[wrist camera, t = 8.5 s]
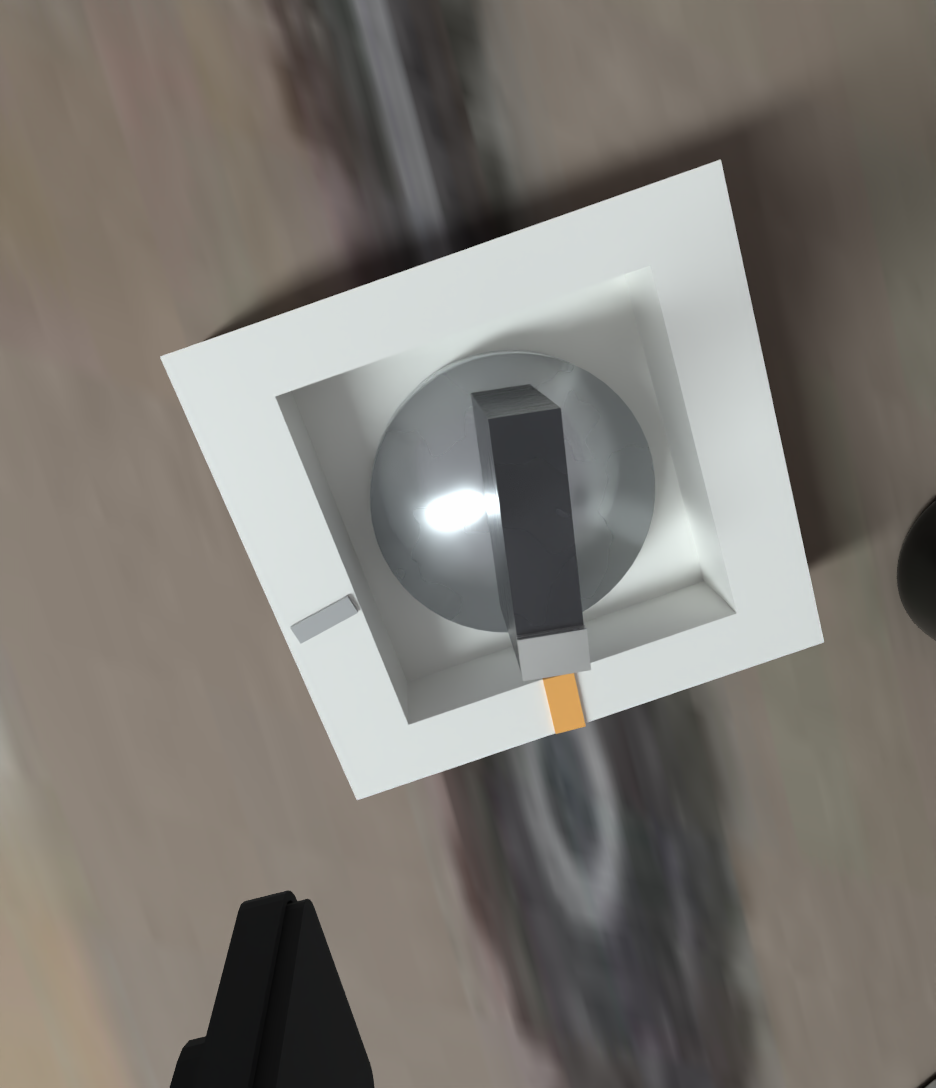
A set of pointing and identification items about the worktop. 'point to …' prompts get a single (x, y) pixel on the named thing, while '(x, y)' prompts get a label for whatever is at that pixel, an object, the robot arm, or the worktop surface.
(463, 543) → the dial
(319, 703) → the dial housing
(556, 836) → the worktop surface
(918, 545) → the supplement bottle
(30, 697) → the worktop surface
